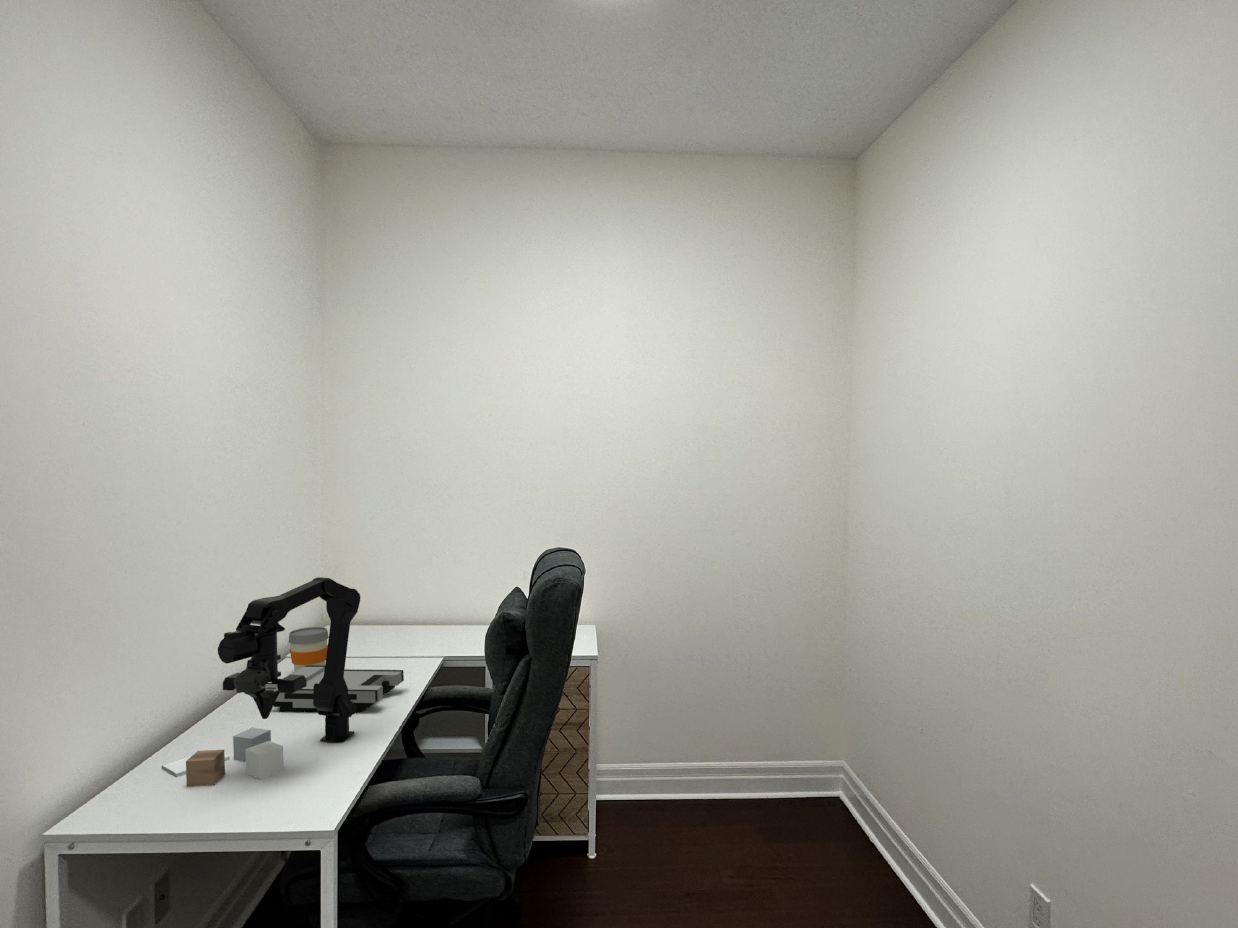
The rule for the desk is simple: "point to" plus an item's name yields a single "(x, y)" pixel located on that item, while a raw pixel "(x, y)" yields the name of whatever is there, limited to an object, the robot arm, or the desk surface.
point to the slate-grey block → (249, 741)
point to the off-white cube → (264, 759)
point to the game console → (360, 683)
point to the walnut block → (205, 768)
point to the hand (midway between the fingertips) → (265, 718)
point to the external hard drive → (180, 766)
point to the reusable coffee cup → (308, 646)
